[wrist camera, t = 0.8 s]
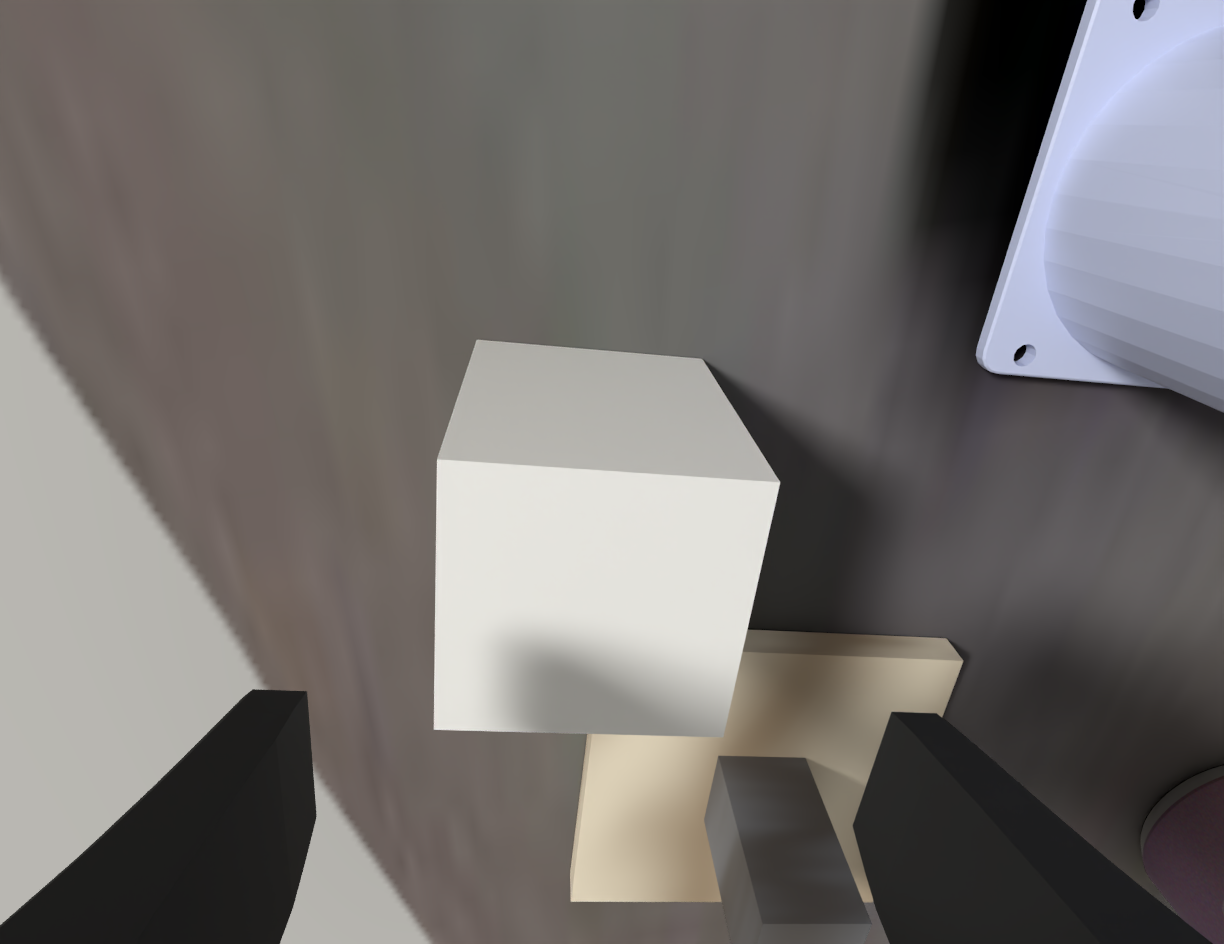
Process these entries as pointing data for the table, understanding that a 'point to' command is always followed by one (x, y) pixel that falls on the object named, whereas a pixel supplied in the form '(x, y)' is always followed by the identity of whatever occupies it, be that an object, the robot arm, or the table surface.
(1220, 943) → the beverage can
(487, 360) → the white rectangular block
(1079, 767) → the table surface
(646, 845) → the beige square base
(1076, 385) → the table surface
